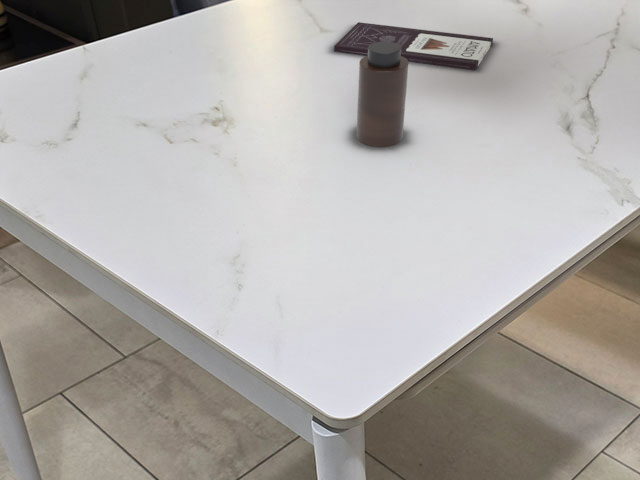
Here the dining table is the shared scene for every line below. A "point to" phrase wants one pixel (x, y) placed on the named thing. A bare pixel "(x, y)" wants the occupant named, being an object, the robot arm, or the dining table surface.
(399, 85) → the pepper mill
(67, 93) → the dining table surface
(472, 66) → the chocolate bar
